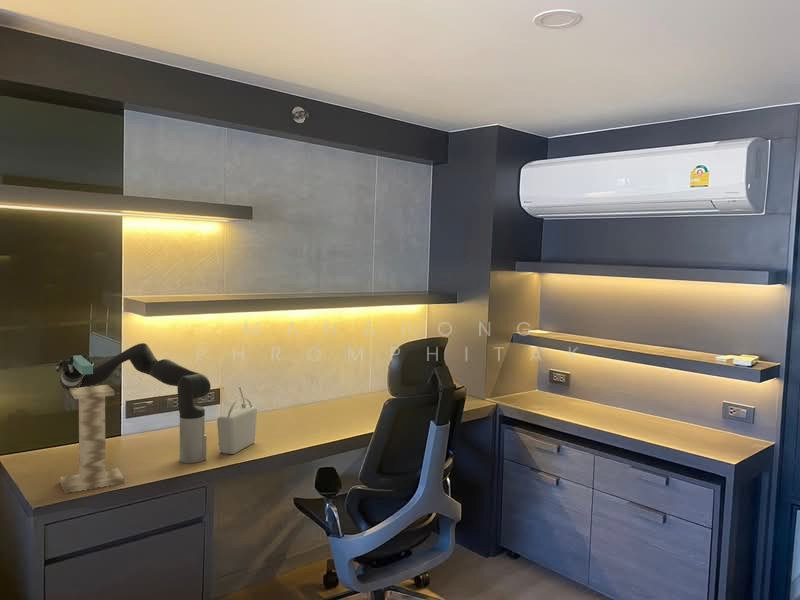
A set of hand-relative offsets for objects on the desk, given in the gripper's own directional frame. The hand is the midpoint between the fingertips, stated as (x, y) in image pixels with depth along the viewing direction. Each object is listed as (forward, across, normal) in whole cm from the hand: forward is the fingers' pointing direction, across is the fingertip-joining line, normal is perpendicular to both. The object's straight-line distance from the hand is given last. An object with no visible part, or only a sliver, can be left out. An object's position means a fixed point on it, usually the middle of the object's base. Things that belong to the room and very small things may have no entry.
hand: (78, 358), depth 227 cm
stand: (+5, 0, +48) cm, 49 cm away
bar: (+5, 0, +6) cm, 8 cm away
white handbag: (-6, +56, +42) cm, 71 cm away
